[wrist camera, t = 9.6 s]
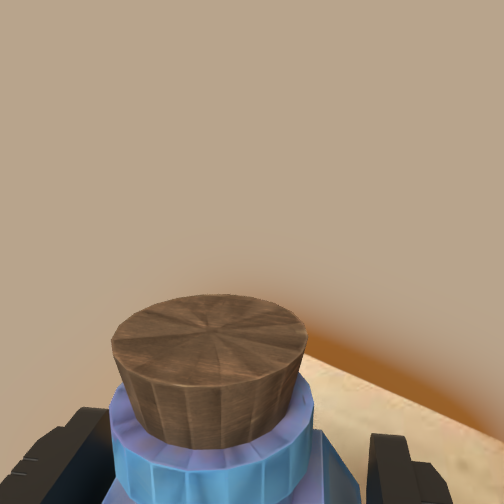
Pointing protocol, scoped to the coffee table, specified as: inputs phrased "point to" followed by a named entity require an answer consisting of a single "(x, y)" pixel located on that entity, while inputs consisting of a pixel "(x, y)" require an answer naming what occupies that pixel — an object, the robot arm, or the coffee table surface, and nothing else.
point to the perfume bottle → (218, 409)
